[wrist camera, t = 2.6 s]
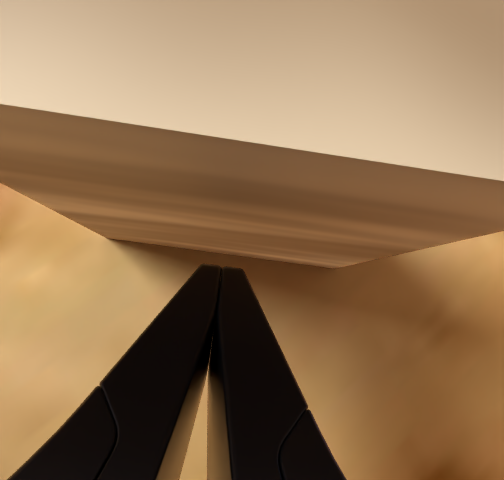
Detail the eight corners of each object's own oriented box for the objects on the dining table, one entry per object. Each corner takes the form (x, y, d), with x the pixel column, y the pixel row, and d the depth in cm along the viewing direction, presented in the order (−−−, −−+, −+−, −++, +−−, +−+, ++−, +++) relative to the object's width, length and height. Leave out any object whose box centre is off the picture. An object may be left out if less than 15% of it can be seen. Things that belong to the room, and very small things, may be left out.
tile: (334, 268, 17) (636, 201, 5) (106, 237, 16) (-214, 70, 4) (340, 207, 17) (634, 1, 5) (117, 175, 16) (-148, -147, 4)
